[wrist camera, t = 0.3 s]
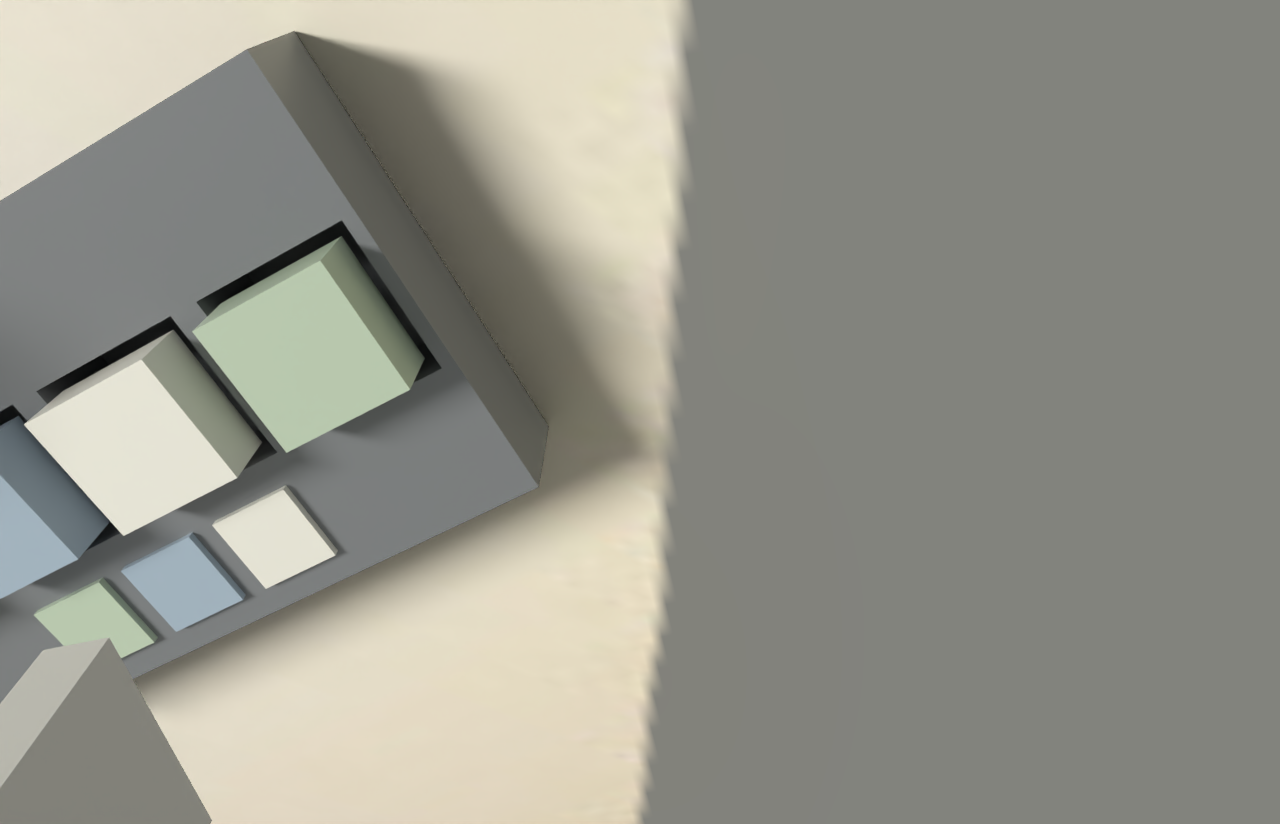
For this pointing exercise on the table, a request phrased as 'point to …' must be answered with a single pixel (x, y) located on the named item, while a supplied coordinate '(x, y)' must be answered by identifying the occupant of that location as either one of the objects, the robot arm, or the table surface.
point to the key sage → (312, 345)
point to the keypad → (180, 300)
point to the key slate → (39, 511)
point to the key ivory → (146, 434)
